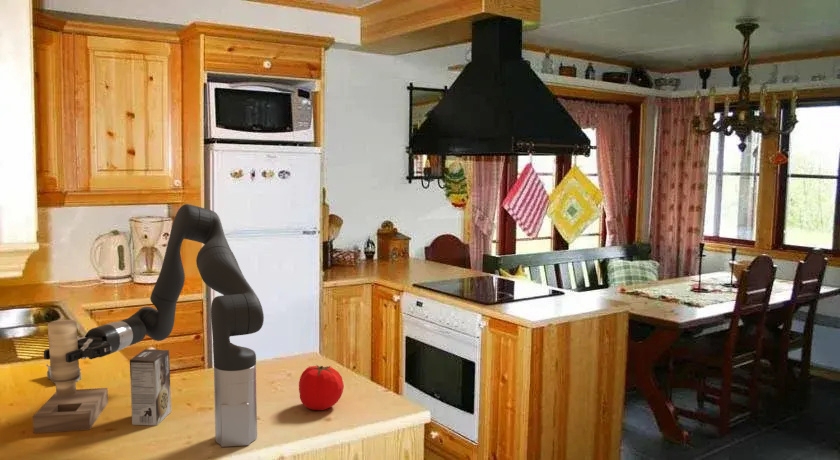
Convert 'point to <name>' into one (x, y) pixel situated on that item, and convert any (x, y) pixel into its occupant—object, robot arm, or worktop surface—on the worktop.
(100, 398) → the seat board
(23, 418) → the worktop surface
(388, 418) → the worktop surface
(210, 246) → the robot arm
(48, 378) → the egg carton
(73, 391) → the stool leg
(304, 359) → the worktop surface
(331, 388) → the tomato
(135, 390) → the coffee box
